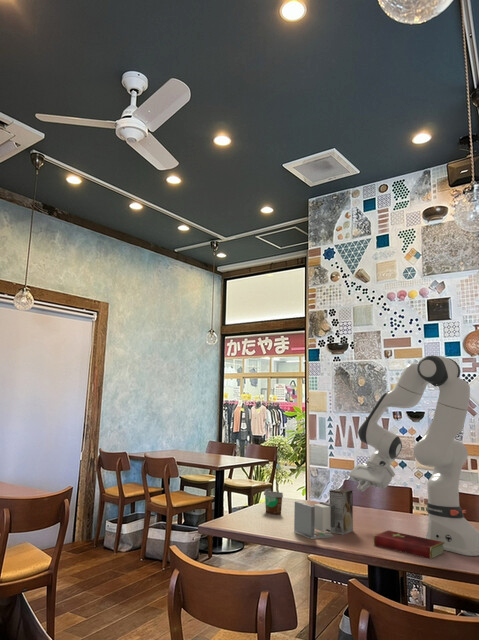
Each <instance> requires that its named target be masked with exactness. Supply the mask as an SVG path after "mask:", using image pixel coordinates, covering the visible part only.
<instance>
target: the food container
mask: <svg viewBox="0 0 479 640" xmlns="http://www.w3.org/2000/svg"><path fill="white" fill-rule="evenodd" d="M263 496H264V497H265V498H264V500H265V501H264V503H265V514H267V515H268V514H269V515H272V516H273V515H274V516H278V515H279V516H281V515H282V506H283V505H282V504H283V498H284V493H283V492H278V491H274V490H272V488H266V489H264V492H263Z"/></svg>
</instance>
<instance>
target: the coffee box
mask: <svg viewBox="0 0 479 640" xmlns="http://www.w3.org/2000/svg"><path fill="white" fill-rule="evenodd" d="M353 501H354V500H353V490H352V489H344V488H336V489H332V490H329V504H330V505H334V506H335V527H333V528H332V527H331V531H330V532H329V533H332V534H336V535H337V534H338V535H342V536H345V535H347V534H349V533H351V532H353V531H354V508H353V505H354V503H353Z"/></svg>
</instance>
